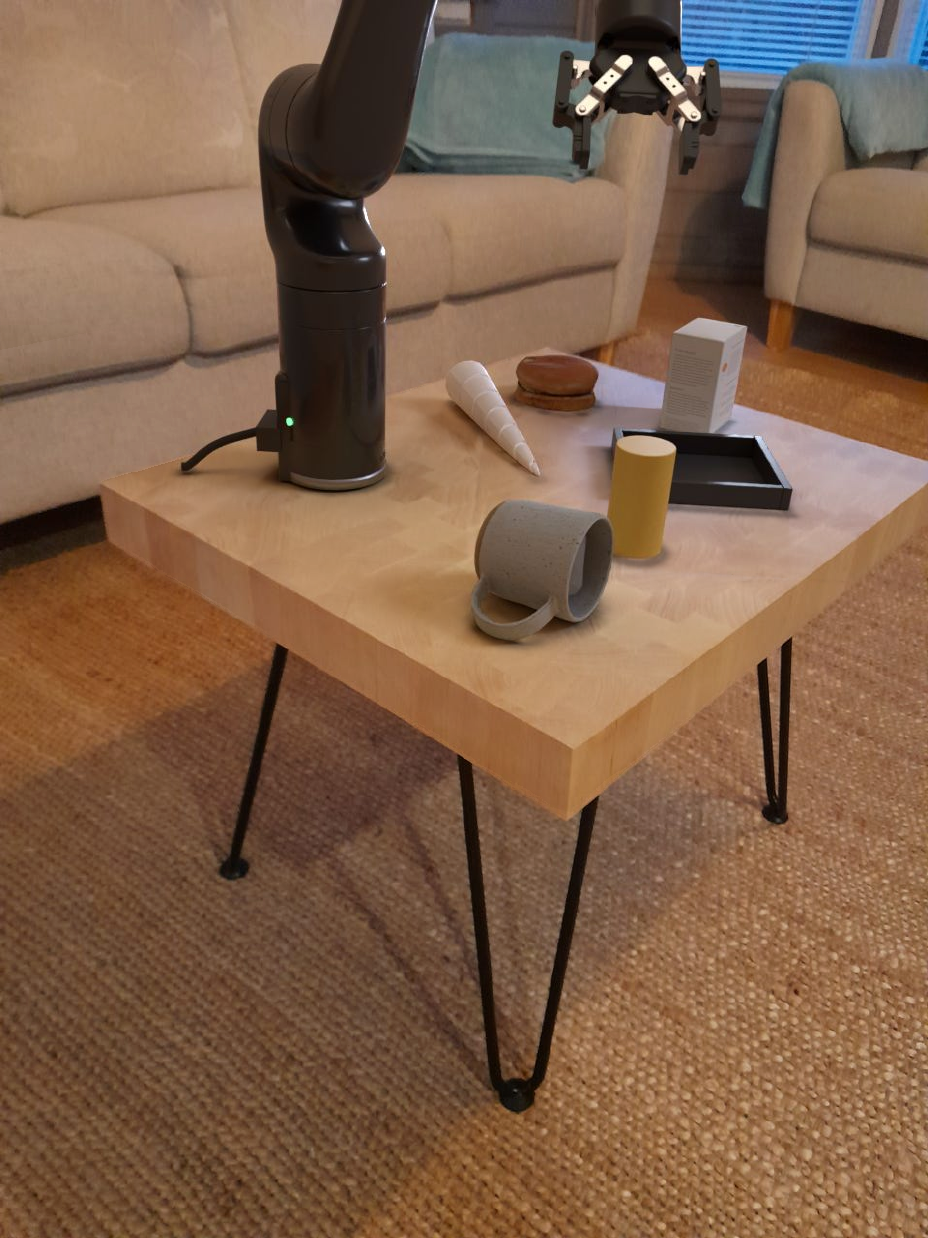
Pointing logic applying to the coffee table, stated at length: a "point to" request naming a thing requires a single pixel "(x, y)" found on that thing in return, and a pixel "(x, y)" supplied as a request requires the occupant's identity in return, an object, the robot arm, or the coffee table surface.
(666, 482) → the yellow cylinder
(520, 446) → the unicorn horn
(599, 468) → the coffee table surface
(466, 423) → the coffee table surface
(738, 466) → the tray
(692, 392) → the small box
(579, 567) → the ceramic mug
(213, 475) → the coffee table surface
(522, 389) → the burger
